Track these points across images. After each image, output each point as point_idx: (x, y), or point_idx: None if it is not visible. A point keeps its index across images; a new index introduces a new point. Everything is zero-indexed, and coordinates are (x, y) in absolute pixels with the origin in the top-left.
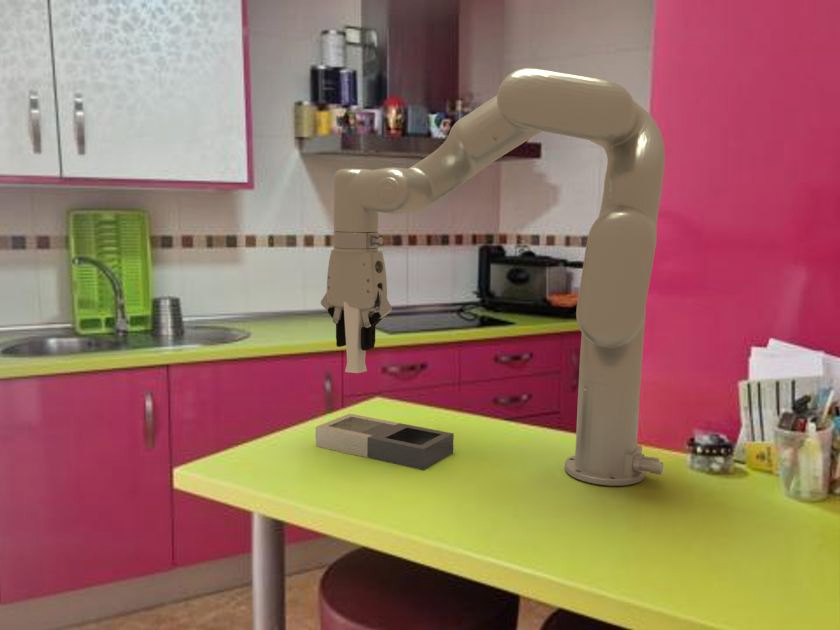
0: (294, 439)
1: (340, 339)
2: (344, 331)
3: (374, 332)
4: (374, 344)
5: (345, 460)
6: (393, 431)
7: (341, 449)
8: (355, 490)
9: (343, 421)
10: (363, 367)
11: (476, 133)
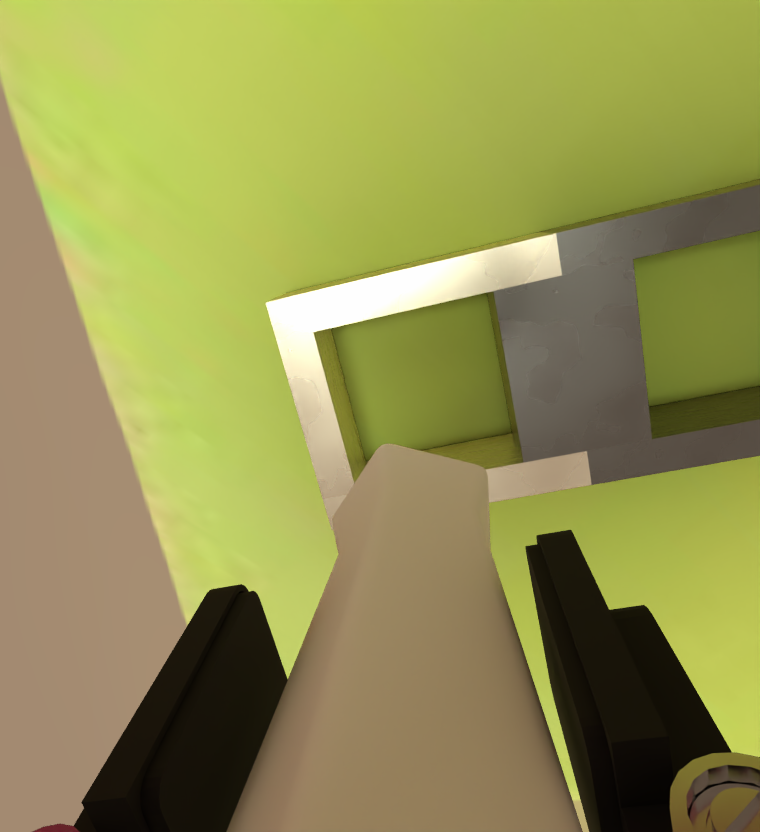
0: (231, 497)
1: None
2: (235, 795)
3: (704, 721)
4: (575, 539)
5: (531, 518)
6: (622, 350)
7: None
8: (741, 658)
9: (329, 387)
10: (485, 517)
11: None
